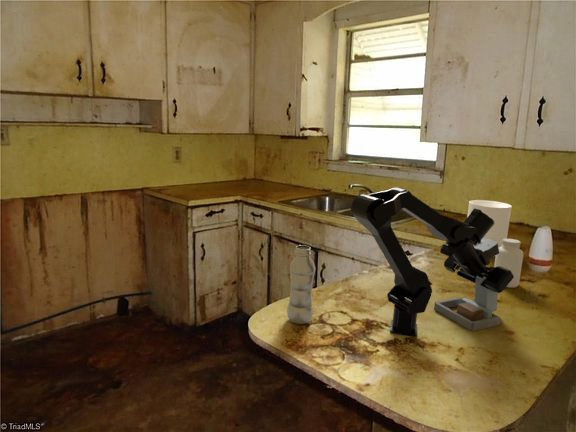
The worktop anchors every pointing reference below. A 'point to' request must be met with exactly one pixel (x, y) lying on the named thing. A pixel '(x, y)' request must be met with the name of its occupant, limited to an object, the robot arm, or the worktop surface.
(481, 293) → the grey upright block
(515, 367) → the worktop surface
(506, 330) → the worktop surface
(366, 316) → the worktop surface
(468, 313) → the block
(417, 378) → the worktop surface
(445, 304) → the grey u-shaped bar
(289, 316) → the plastic bottle
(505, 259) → the pill bottle
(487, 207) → the canister
